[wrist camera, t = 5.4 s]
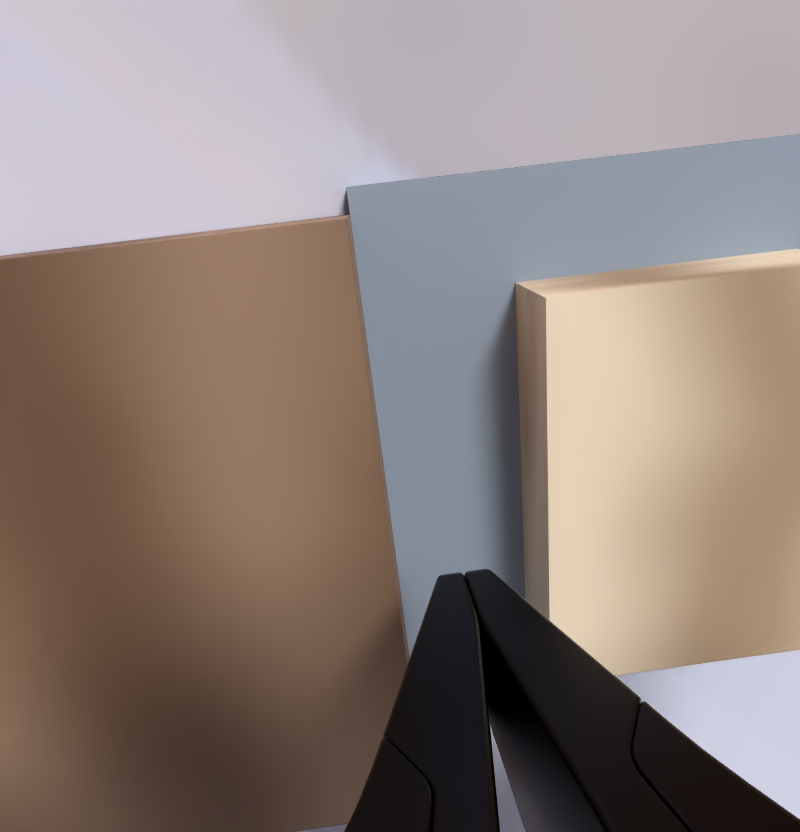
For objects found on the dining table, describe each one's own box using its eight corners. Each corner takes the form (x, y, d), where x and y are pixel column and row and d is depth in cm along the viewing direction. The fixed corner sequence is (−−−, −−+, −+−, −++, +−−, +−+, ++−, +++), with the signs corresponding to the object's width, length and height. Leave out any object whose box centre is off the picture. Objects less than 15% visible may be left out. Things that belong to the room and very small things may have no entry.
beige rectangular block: (800, 649, 13) (745, 593, 15) (880, 257, 10) (796, 249, 12) (550, 684, 13) (526, 623, 15) (545, 297, 10) (515, 282, 11)
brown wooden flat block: (52, 715, 15) (-47, 881, 11) (-153, 274, 11) (-419, 309, 7) (411, 665, 15) (427, 811, 12) (350, 214, 11) (346, 218, 7)
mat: (412, 678, 16) (414, 690, 15) (346, 187, 11) (345, 187, 11) (755, 631, 16) (765, 641, 16) (835, 130, 11) (851, 127, 11)
